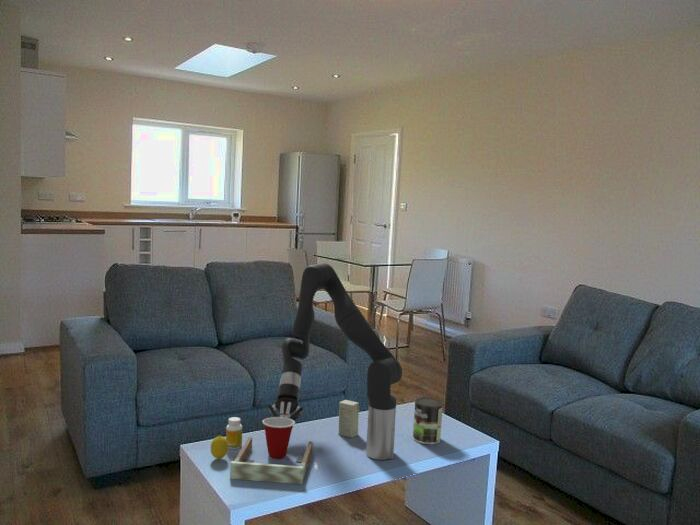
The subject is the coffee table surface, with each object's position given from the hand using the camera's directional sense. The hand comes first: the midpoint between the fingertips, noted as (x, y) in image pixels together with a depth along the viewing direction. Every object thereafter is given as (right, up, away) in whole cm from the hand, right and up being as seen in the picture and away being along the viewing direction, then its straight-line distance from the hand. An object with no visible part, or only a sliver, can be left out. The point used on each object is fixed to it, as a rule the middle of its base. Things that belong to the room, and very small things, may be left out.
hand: (282, 432), depth 208 cm
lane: (-1, -6, -14) cm, 15 cm away
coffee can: (+52, -6, +13) cm, 54 cm away
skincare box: (+23, -5, +14) cm, 27 cm away
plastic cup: (-1, -6, -7) cm, 9 cm away
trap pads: (-1, -6, -12) cm, 13 cm away
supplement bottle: (-16, -4, -2) cm, 17 cm away
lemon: (-19, -5, -12) cm, 23 cm away
